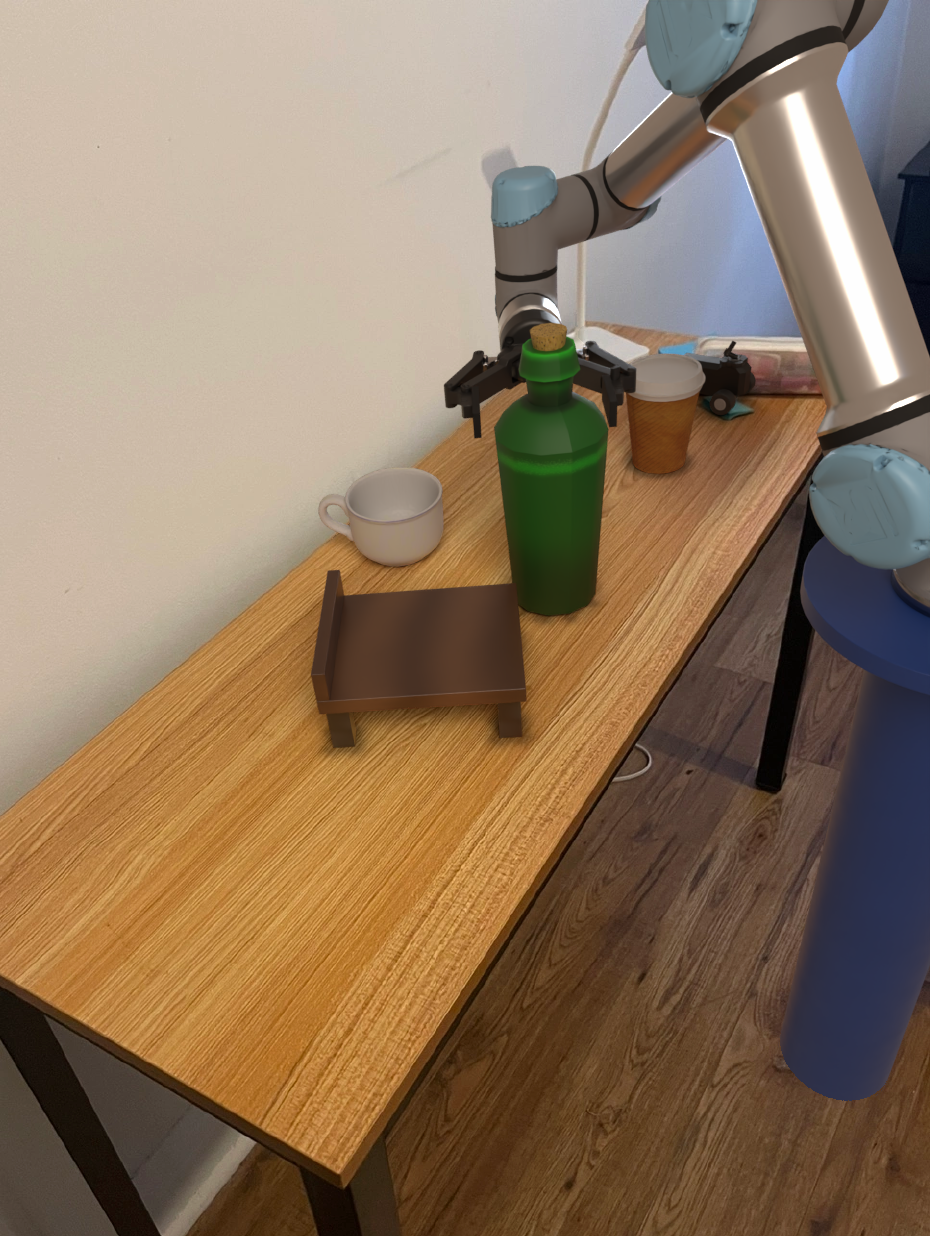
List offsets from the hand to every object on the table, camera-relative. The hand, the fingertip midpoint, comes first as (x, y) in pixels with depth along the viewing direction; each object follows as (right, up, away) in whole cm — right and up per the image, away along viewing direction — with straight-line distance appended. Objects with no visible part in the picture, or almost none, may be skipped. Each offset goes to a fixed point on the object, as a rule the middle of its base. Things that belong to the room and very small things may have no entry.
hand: (544, 420), depth 102 cm
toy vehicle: (+25, +12, +36) cm, 45 cm away
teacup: (-16, -11, +14) cm, 24 cm away
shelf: (-12, -27, -5) cm, 30 cm away
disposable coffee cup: (+17, +1, +24) cm, 29 cm away
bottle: (+1, -17, +4) cm, 18 cm away
